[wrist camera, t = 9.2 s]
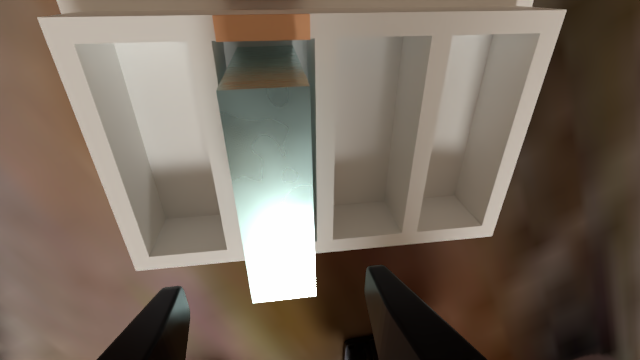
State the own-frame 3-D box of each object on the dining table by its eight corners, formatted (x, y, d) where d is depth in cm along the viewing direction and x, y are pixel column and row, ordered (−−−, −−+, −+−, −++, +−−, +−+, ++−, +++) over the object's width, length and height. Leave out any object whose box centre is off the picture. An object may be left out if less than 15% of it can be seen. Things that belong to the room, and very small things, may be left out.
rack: (467, 195, 22) (509, 238, 18) (144, 222, 19) (116, 277, 16) (534, -59, 15) (623, -74, 11) (47, -65, 13) (-43, -86, 9)
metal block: (300, 196, 19) (316, 295, 13) (257, 200, 18) (252, 303, 12) (292, 45, 15) (310, 85, 9) (237, 47, 14) (215, 90, 8)
